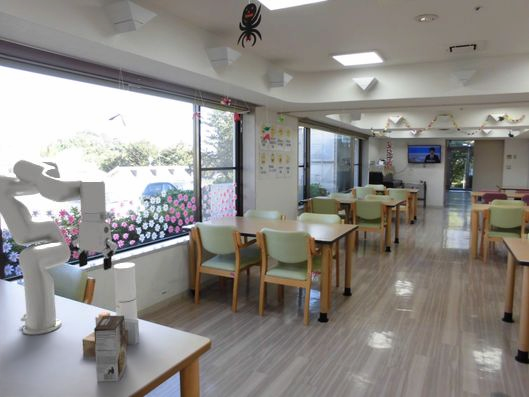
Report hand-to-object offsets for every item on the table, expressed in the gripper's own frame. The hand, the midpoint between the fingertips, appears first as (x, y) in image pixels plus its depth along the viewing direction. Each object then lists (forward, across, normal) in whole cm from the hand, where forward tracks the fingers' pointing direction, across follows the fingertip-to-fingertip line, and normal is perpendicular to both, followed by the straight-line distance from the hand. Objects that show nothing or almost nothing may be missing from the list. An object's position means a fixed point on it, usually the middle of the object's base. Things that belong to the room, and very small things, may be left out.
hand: (95, 267), depth 133 cm
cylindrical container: (+27, -4, -11) cm, 30 cm away
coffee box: (+27, -16, +14) cm, 34 cm away
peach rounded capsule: (+27, -5, +2) cm, 28 cm away
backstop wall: (+27, -5, -4) cm, 28 cm away
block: (+27, -5, +2) cm, 28 cm away
